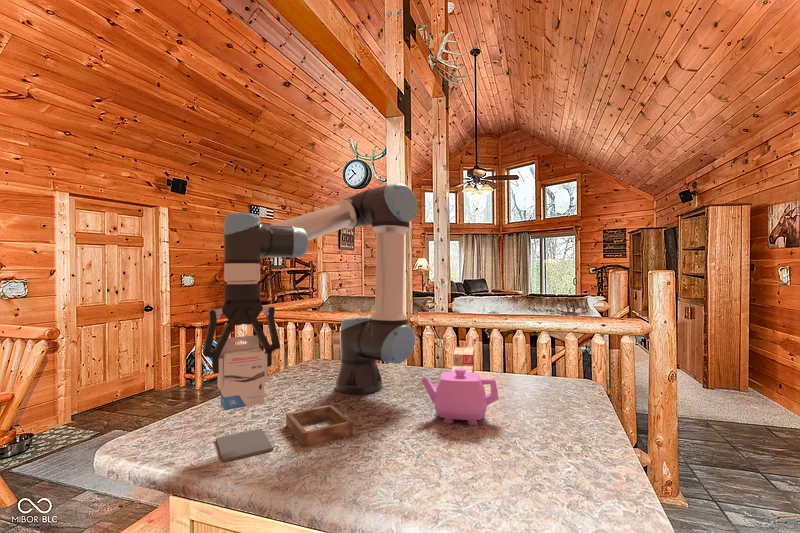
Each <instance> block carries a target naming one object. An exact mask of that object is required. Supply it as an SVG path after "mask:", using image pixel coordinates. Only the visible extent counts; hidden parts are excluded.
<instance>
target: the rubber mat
mask: <svg viewBox="0 0 800 533" xmlns="http://www.w3.org/2000/svg"><path fill="white" fill-rule="evenodd" d="M215 442H216V444H217V447H218V450H219V454H220V457H221V460H222V463H227V462H230V461H234V460H238V459H239V460H240V459H242V458H246V457H247V458H248V457H252V456H255V455H259V454H264V453H267V452H271V451H274V446H273V445H272V443H271V441H270V440H269V438H268V436H267V435H266V434H265V432H264V430H263V429H262V428H257V429H252V430H247V431H244V432H238V433H234V434H229V435H223V436H219V437H216V438H215Z"/></svg>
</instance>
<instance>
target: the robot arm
mask: <svg viewBox="0 0 800 533" xmlns="http://www.w3.org/2000/svg"><path fill="white" fill-rule="evenodd" d="M418 206H419V205H418V201H417V198H416V196H415V193H414V192H413V191H412V189H411V188H410V187H409V186H407V185H406V184H403V183H394V184H392V183H390V184H387V185H383V186H379V187H374V188H368V189H365V190H362V191H360V192H358V193H355V194H353V195H351V196H348V197H345V198H342V199H340V200H338V201H337V203H336V204H334V205H331V206H328V207H324V208H322V209H318V210H314V211H311V212H308V213H305V214H301V215H298V216H295V217H292V218H289V219H285V220H282V221H279V222H275V223H271V224H264V223H262V221H261V217H260V215H258V214H256V213H250V212H231V213H227V214H226V216H225V217H224V223H223V234H222V235H223V250H224V251H223V252H224V253H223V254H224V256H223V257H224V258H223V259H224V260H223V262H224V263H223V264H224V265H223V268H224V269H223V276H224V277H223V280H224V282H226V284H224V286H223V305H222V306H221V308H217V309H214V308H212V309H209V310H208V317H209V322H208V325H207V326H208V327H207V331H206V335H205V340H204V344H203V349H202V355H203V356H204V357H205V358H207V357H208V358H210V359H211V370H212V373H213V374H214V375H215V374H217V388H218V390H221V389H223V358H222V357H221V353H222V350H223V348H224V346H225V343H226V341H227V339H228V338H230V335H231V333H232V331H233V330H234V328H235V326H241V325H251V326H252V328H253V330H254V332H255V335H257V336H258V338H259V343H261V346H262V348H263V349H264V352H265V380H264V384H265V383H268V368H270V367H272V363H273V360H272V359H273V352H274V351H276V350H280V348H281V342H280V339H279V334H278V329H277V325H276V320H275V311H276V309H275V307H274V306H271V305H270V306H264V305H263V304H262V303H261V284H260V283H258V282H260V281H261V259H268V258H269V259H270V258H271V259H272V258H291V259H294V258H301V257H303V256H304V255H305V254H306V253H307V251H308V248H309V241H311V240H314V239H316V238H320V237H322V236H326V235H327V234H331V233H334V232H336V231H339V230H343V229H346V230H352V229H354V228H357V227H366V226H371V229H372V230H373V231H374V232H375V234H376V243H375V244H376V246H375V247H376V248H375V250H376V251H375V288H374V289H375V290H374V291H375V297H374V312H373V314H372V315H370V316H360V317H351V318H345V319H343V320H341V323H340V357H341V358H340V359H341V360H340V362H341V363H340V366H339V370H338V374H337V376H336V381H335V389H336V391H338V392H339V393H343V394H347V395H348V394H349V395H364V394H370V393H375V392H377V391H380V390H381V389H382V388H383V379H382V375H381V372H380V369H379V367H378V364H377V363H378V361H379V362H383V363H386V364H394V365H397V364H398V365H399V364H402V363H403V362H405V361H407V360H408V359H409V358H410V356H411V355H412V353H413V351H414V349H415V345H416V334H415V332H414V330H413V328H412V327H411V326H409V324H408V322H409V320H408V317H407V316H406V314H405V313H404V276H405V275H404V274H405V272H404V271H405V270H404V268H405V267H404V266H405V262H404V261H405V235H406V233H407V232H408V231H409V230H410V222H412V221H413V220H415V218H416V216H417V214H418V211H419V207H418ZM262 312H263V315H264V316H265V317H266V322H267V327H268V332H269V335H270V336H269V337H270V340H271V344H270V342H269V340H268V338H267V337H266V334H265V333H264V331H263V329H262V327H261V324H260V322H259V321H258V317H259V315H260V314H261V313H262ZM222 314H223V315H224V316H225V317H226V319H227V322H226V323H225V326H224V328H223V330H222V333H221V334H220V337H219V339H218V341H217V343H215V346H214V349H213V350H212V346H213V341H214V337H215V332H216V328H217V324H218V320H219V319H220V318H221V315H222Z"/></svg>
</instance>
